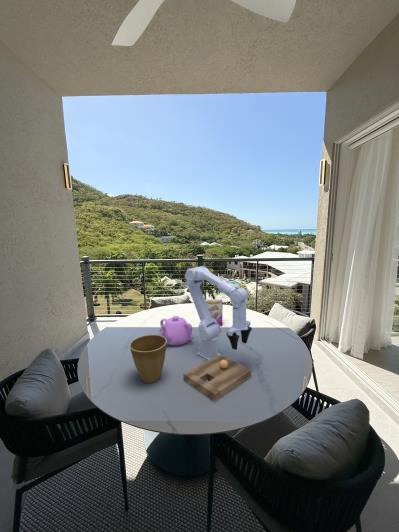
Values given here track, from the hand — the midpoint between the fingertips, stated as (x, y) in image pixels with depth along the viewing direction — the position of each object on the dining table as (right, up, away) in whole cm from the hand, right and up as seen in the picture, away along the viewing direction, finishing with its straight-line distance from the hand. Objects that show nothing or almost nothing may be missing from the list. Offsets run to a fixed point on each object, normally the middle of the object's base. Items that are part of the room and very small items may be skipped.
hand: (239, 345), depth 112 cm
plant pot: (-38, -12, -4) cm, 40 cm away
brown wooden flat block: (-10, -12, -6) cm, 16 cm away
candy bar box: (-9, -3, +50) cm, 50 cm away
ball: (-7, -7, -4) cm, 11 cm away
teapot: (-31, -7, +27) cm, 42 cm away
